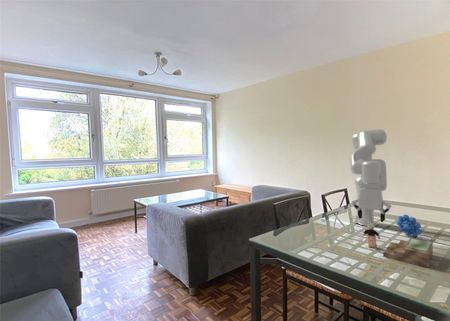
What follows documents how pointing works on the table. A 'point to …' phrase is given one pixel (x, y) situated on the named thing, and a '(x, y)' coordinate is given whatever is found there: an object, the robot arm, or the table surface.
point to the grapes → (409, 225)
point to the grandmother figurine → (371, 236)
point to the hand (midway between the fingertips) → (371, 219)
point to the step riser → (411, 252)
